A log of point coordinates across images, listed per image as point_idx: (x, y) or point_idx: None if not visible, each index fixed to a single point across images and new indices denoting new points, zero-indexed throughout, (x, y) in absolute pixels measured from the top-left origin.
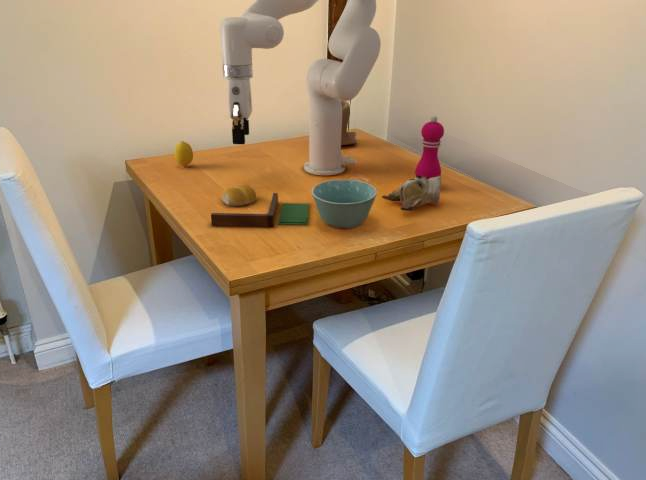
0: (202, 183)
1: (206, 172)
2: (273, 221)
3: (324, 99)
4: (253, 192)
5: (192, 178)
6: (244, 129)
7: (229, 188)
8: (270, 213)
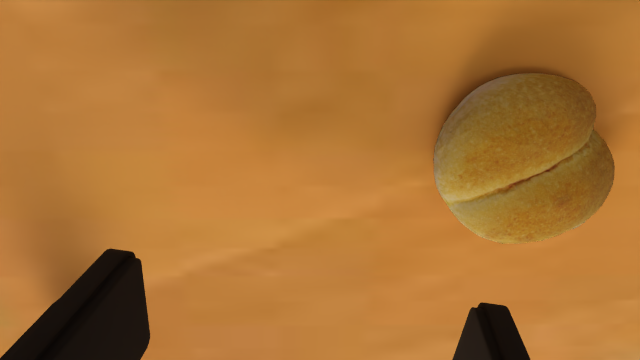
0: (270, 294)
1: None
2: None
3: None
4: (569, 97)
5: (215, 324)
6: (113, 332)
7: (533, 229)
8: None
